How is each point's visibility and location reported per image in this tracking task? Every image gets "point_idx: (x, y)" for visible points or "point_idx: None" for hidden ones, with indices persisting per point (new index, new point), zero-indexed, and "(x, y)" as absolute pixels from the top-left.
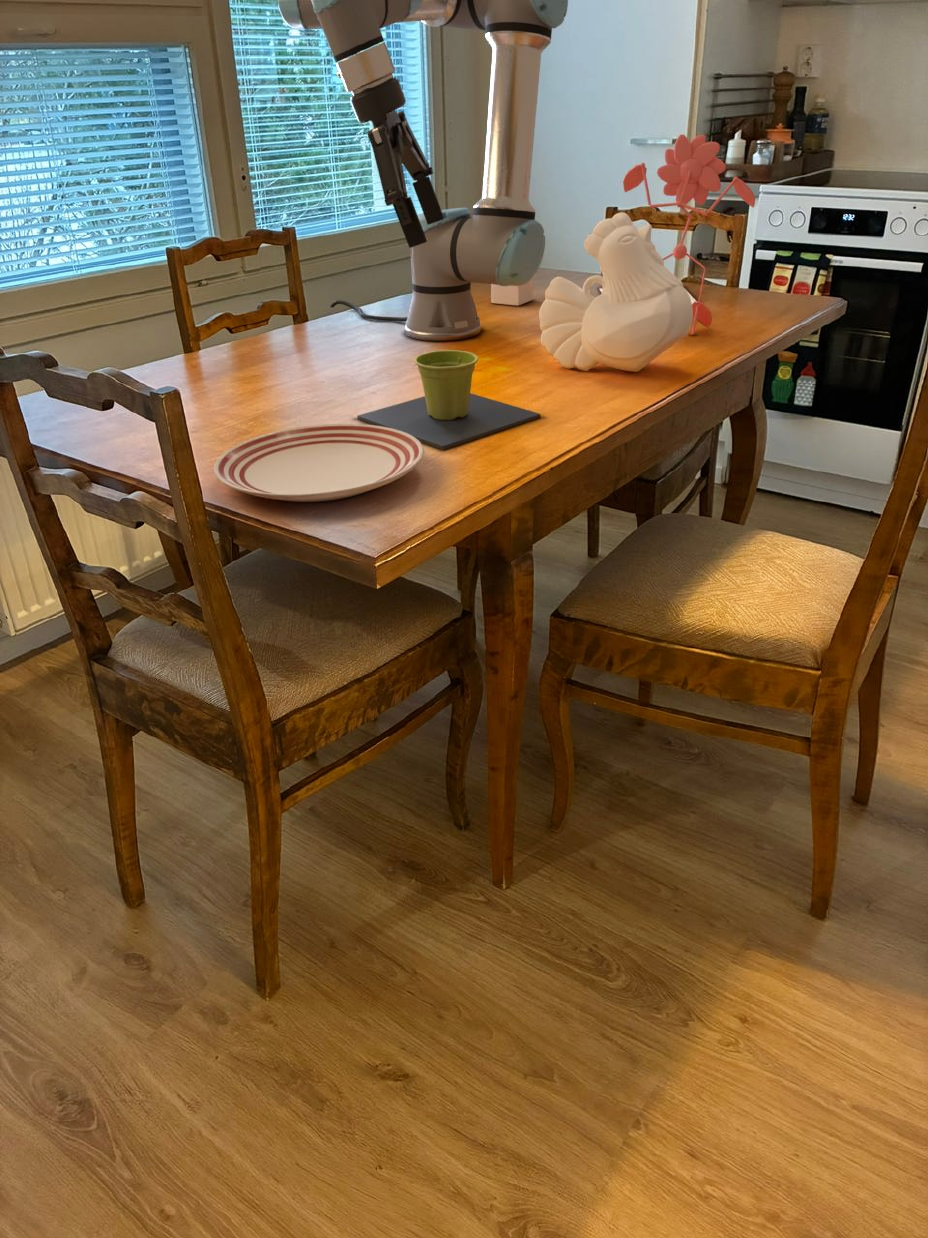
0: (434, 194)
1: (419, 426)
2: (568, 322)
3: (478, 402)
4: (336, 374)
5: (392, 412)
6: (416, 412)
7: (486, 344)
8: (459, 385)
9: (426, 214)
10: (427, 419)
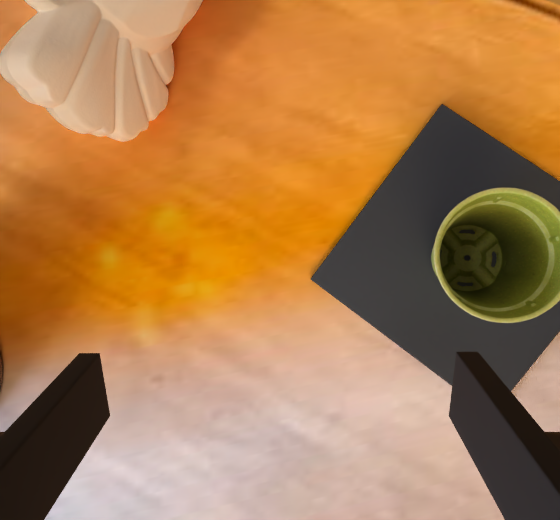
0: (35, 423)
1: None
2: (116, 68)
3: (390, 219)
4: (228, 513)
5: None
6: (460, 315)
7: (14, 274)
8: (525, 224)
9: (91, 434)
10: None
